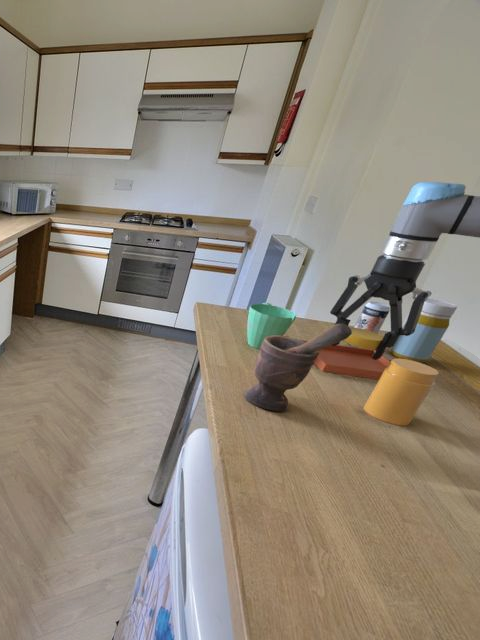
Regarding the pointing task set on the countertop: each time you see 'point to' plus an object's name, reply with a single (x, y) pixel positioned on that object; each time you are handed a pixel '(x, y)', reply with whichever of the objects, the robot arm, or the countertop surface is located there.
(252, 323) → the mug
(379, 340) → the jar lid
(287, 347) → the mortar and pestle
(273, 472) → the countertop surface
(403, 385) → the jam jar
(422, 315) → the bottle
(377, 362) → the tray
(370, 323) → the beer can
